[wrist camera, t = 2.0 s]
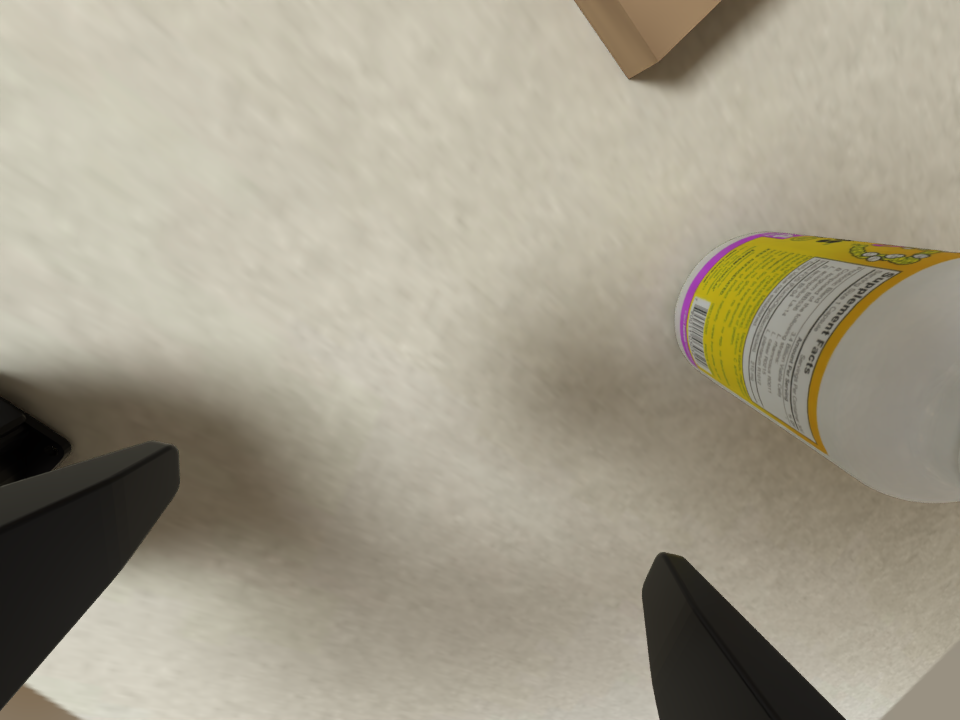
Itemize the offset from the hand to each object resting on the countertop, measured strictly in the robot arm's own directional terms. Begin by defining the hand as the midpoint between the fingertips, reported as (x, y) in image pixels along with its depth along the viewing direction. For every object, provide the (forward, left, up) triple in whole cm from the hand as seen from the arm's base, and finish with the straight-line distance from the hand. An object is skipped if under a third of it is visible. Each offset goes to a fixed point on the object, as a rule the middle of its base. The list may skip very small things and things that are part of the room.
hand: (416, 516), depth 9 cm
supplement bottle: (+11, -9, -12) cm, 18 cm away
